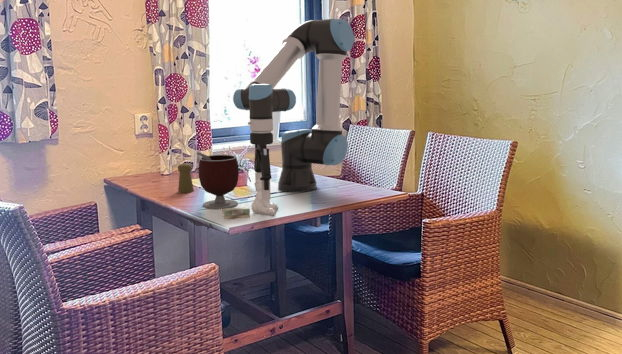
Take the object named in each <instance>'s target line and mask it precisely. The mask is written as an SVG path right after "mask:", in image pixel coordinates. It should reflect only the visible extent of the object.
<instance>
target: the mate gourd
mask: <svg viewBox="0 0 622 354" xmlns="http://www.w3.org/2000/svg"><path fill="white" fill-rule="evenodd" d="M196 155H198V156H201V157H199V161H198V178H199V182H200V187H202V189H203V190H204V191H205V192H206V193H208V194H211V195H213V196H215V199H213V200H207V201H205V202H203V203H202V208H204V209H206V208H207V210H222V209H225V208H237V206H238V204H239V203H238V201H236V200H233V199H226V198H225V195H227V194H228V193H231V192H233V191H234V190H235V188H236V187H237V185H238V183H239V164H238V159H237V156H236V155H233V154H213V155H211V154H210V155H207V154H205V153H202V152H196Z"/></svg>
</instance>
